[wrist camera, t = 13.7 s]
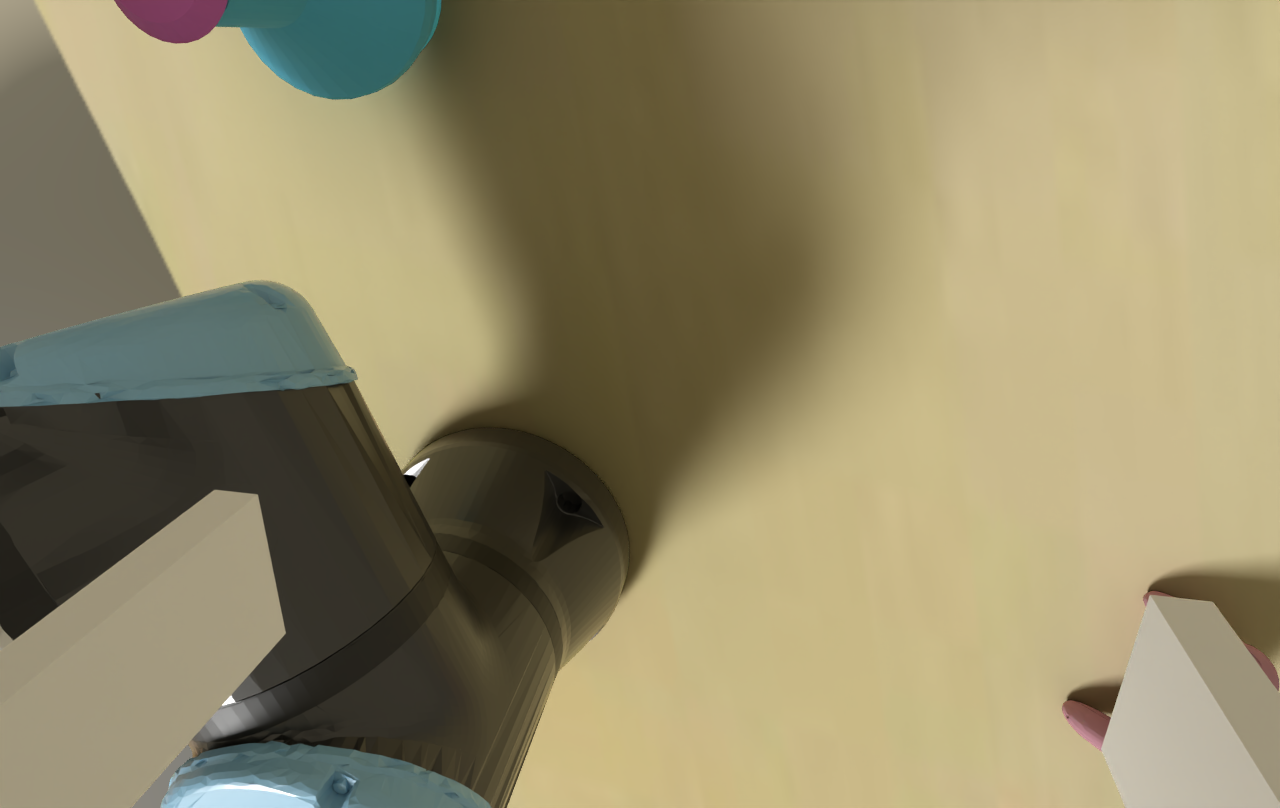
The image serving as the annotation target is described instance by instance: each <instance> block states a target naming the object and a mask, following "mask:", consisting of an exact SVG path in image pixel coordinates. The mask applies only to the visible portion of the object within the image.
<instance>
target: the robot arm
mask: <svg viewBox="0 0 1280 808" xmlns="http://www.w3.org/2000/svg"><path fill="white" fill-rule="evenodd" d="M357 379H358V377H357V374H356V372H355V370H354V369H353V368H351V367H349V366H346V365H345V363H344V361H343V360H342V358H341V356H340V355H339V353H338V351H337V349H336V348H335V346H334V344H333V343H332V341H331V339H330V338H329V336H328V334H327V332H326V331H325V329H324V327H323V326H322V324H321V322H320V320H319V319H318V317H317V315H316V314H315V312H314V310H313V308H312V307H311V306H310V304H309V303H308V302H307V300H306V299H305V298H304V297H303V296H302V295H300V294H299V293H298V292H296V291H295V290H293V289H291V288H290V287H288V286H285V285H283V284H280V283H277V282H272V281H248V282H243V283H238V284H234V285H229V286H225V287H221V288H217V289H213V290H209V291H205V292H201V293H197V294H193V295H189V296H185V297H181V298H177V299H173V300H170V301H165V302H162V303H158V304H154V305H150V306H147V307H143V308H139V309H135V310H131V311H127V312H124V313H120V314H116V315H112V316H108V317H105V318H101V319H97V320H94V321H90V322H87V323H83V324H80V325H76V326H72V327H68V328H65V329H61V330H57V331H54V332H50V333H47V334H43V335H40V336H36V337H33V338H29V339H26V340H23V341H20V342H16V343H11V344H8V345H5V346H2V347H0V808H131V807H132V806H133V805H134V804H135V803H136V802H137V801H138V800H139V798H140V797H141V796H142V795H143V794H144V793H145V792H146V790H147V789H148V788H149V787H150V786H151V785H152V784H153V783H154V781H155V780H156V779H157V778H158V777H159V776H160V774H162V772H163V771H164V770H165V769H166V768H167V767H168V765H170V763H171V762H172V761H173V760H174V759H175V758H176V757H177V756H178V754H179V753H180V752H181V751H182V750H183V749H184V747H186V745H187V744H188V745H189V747H190V749H191V750H192V758H191V759H189V760H187V762H186V763H184V764H183V765H182V766H180V767H179V768H178V770H177V771H176V772H175V774H174V775H173V776H172V777H171V779H170V783H169V790H168V792H167V793H166V795H165V797H164V798H163V800H162V804H161V808H507V805H508V803H509V800H510V797H511V795H512V792H513V789H514V787H515V784H516V781H517V779H518V776H519V773H520V771H521V768H522V765H523V763H524V760H525V757H526V755H527V752H528V749H529V747H530V744H531V742H532V739H533V736H534V734H535V731H536V728H537V726H538V723H539V720H540V718H541V715H542V712H543V710H544V707H545V704H546V702H547V699H548V696H549V694H550V691H551V688H552V685H553V683H554V680H555V678H556V675H557V673H558V671H559V670H560V669H561V668H562V667H563V666H565V665H566V664H567V663H568V662H569V661H570V660H571V659H572V658H573V657H574V656H575V655H576V654H577V653H578V652H579V651H580V650H581V649H582V648H583V647H584V646H585V645H586V644H587V643H588V642H589V641H590V640H591V639H593V638H594V637H595V636H596V635H597V634H598V633H599V632H600V631H601V629H602V628H603V627H604V626H605V624H606V623H607V621H608V620H609V618H610V617H611V615H612V613H613V612H614V610H615V608H616V605H617V603H618V600H619V597H620V595H621V592H622V589H623V586H624V583H625V580H626V577H627V573H628V567H629V557H630V550H629V539H628V534H627V529H626V526H625V522H624V520H623V517H622V514H621V512H620V510H619V508H618V506H617V504H616V502H615V500H614V498H613V497H612V495H611V494H610V492H609V491H608V489H607V488H606V487H605V485H604V484H603V483H602V481H601V480H600V479H599V478H598V477H597V476H596V475H595V474H594V473H593V472H592V471H591V470H590V469H589V468H588V467H587V466H586V465H585V464H584V463H583V462H581V461H580V460H579V459H577V458H576V457H575V456H573V455H572V454H570V453H569V452H567V451H566V450H564V449H563V448H561V447H559V446H557V445H555V444H553V443H551V442H549V441H547V440H545V439H542V438H540V437H537V436H534V435H531V434H528V433H524V432H521V431H516V430H511V429H503V428H476V429H469V430H463V431H459V432H456V433H453V434H450V435H447V436H445V437H442V438H440V439H438V440H436V441H434V442H433V443H431V444H430V445H428V446H427V447H425V448H424V449H423V450H422V451H420V452H419V453H418V454H417V455H416V456H415V457H414V458H413V459H412V460H411V461H410V462H409V463H408V464H407V466H406V467H405V468H404V469H403V470H402V471H401V470H400V468H399V466H398V464H397V462H396V460H395V458H394V456H393V454H392V453H391V451H390V449H389V447H388V445H387V443H386V441H385V439H384V437H383V435H382V433H381V431H380V429H379V428H378V426H377V424H376V422H375V420H374V418H373V416H372V414H371V412H370V410H369V408H368V406H367V404H366V402H365V401H364V399H363V397H362V395H361V393H360V391H359V389H358V387H357V385H356V383H355V381H354V380H357ZM1101 750H1102V752H1103V755H1104V757H1105V760H1106V762H1107V764H1108V767H1109V769H1110V772H1111V774H1112V776H1113V779H1114V781H1115V784H1116V786H1117V788H1118V791H1119V793H1120V796H1121V798H1122V800H1123V803H1124V805H1125V808H1280V693H1279V692H1278V691H1277V689H1276V688H1275V686H1274V685H1273V684H1272V682H1271V681H1270V680H1269V678H1268V677H1267V675H1266V674H1265V673H1264V671H1263V670H1262V669H1261V667H1260V666H1259V664H1258V663H1257V662H1256V660H1255V659H1254V658H1253V656H1252V655H1251V653H1250V652H1249V651H1248V649H1247V648H1246V647H1245V645H1244V644H1243V642H1242V641H1241V640H1240V638H1239V637H1238V636H1237V634H1236V633H1235V631H1234V630H1233V629H1232V627H1231V626H1230V625H1229V623H1228V622H1227V620H1226V619H1225V618H1224V616H1223V615H1222V614H1221V612H1220V611H1219V609H1218V608H1217V607H1216V605H1215V604H1214V603H1213V602H1211V601H1202V600H1193V599H1184V598H1175V597H1166V596H1157V595H1150V596H1149V599H1148V602H1147V606H1146V609H1145V612H1144V615H1143V618H1142V621H1141V625H1140V628H1139V631H1138V634H1137V637H1136V640H1135V643H1134V647H1133V650H1132V653H1131V656H1130V659H1129V662H1128V666H1127V669H1126V672H1125V675H1124V678H1123V681H1122V685H1121V688H1120V691H1119V694H1118V697H1117V700H1116V703H1115V707H1114V710H1113V713H1112V716H1111V719H1110V722H1109V726H1108V729H1107V732H1106V735H1105V738H1104V741H1103V745H1102V748H1101Z"/></svg>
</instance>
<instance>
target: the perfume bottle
mask: <svg viewBox="0 0 1280 808" xmlns="http://www.w3.org/2000/svg"><path fill="white" fill-rule="evenodd" d="M114 1H115V2H116V4H117V6H118V7H119V8H120V9H121V11H122V12H123V13H124V14H125V16H126V17H127V18H128V19H129V20H130V21H131V22H132V23H134V24H135V25H136V26H137V27H138V28H139V29H141V30H142V31H144V32H145V33H147V34H148V35H150V36H152V37H154V38H157V39H159V40H162V41H165V42H171V43H189V42H192V41H195V40H199V39H200V38H202V37H203V36H205V35H207V34H208V33H209V32H210V31H211V30H212V29H213V28H214V27H240V29H241V30H242V32H243V34H244V36H245V38H246V39H247V41H248V43H249V45H250V46H251V47H252V48H253V50H254V51H255V52H256V54H257V55H258V56H259V58H260V59H261V60H262V61H263V62H264V63H265V64H266V65H267V66H268V67H269V68H270V69H271V70H272V71H273V72H274V73H275V74H276V75H277V76H278V77H280V78H281V79H283V80H284V81H286V82H288V83H289V84H291V85H292V86H294V87H295V88H297V89H299V90H302V91H304V92H307V93H309V94H311V95H314V96H318V97H323V98H328V99H353V98H357V97H361V96H364V95H368V94H371V93H374V92H377V91H379V90H381V89H383V88H385V87H386V86H388V85H390V84H392V83H394V82H395V81H396V80H397V79H398V78H399V77H400V76H401V75H403V74H404V73H405V72H406V71H407V70H408V69H409V68H410V66H411V65H412V64H413V62H414V61H415V60H416V58H417V57H418V55H419V54H420V52H421V51H422V50H423V49H424V48H425V46H426V45H427V43H428V42H429V41H430V39H431V38H432V36H433V34H434V31H435V29H436V27H437V25H438V21H439V16H440V12H441V0H114Z"/></svg>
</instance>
